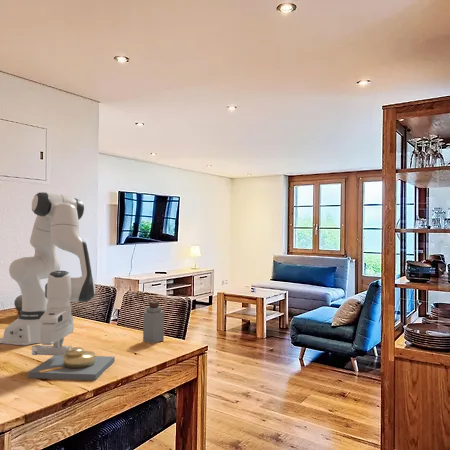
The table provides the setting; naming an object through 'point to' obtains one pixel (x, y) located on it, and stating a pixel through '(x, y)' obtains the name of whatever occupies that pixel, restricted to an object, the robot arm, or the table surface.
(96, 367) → the stand plate
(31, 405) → the table surface
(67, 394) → the table surface
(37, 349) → the dial
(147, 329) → the perfume bottle
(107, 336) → the table surface
